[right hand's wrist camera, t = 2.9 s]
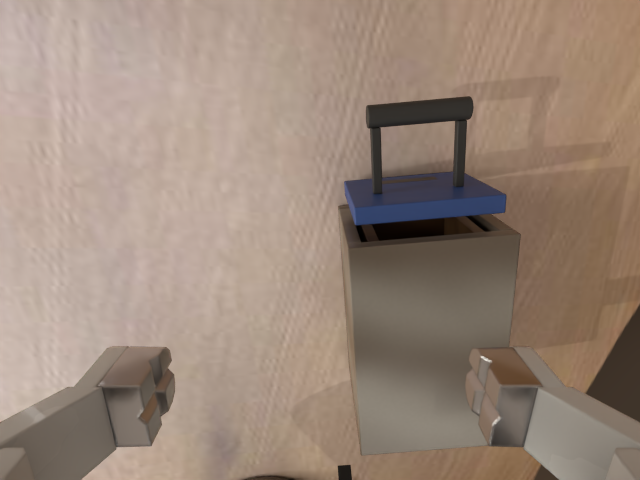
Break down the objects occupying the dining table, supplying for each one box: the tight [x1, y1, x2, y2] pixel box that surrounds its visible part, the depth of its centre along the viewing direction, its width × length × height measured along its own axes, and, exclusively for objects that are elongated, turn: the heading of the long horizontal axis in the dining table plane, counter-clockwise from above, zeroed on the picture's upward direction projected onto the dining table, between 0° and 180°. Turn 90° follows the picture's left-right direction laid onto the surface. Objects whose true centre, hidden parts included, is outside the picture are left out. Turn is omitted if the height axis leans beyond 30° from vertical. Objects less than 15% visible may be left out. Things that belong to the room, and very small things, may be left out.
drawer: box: [344, 96, 506, 242], centre depth 30 cm, size 22×10×8 cm, turn 5°
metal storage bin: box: [338, 205, 521, 455], centre depth 32 cm, size 17×11×10 cm, turn 5°
